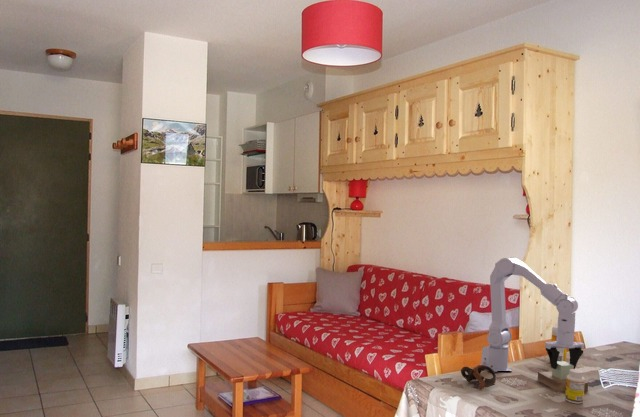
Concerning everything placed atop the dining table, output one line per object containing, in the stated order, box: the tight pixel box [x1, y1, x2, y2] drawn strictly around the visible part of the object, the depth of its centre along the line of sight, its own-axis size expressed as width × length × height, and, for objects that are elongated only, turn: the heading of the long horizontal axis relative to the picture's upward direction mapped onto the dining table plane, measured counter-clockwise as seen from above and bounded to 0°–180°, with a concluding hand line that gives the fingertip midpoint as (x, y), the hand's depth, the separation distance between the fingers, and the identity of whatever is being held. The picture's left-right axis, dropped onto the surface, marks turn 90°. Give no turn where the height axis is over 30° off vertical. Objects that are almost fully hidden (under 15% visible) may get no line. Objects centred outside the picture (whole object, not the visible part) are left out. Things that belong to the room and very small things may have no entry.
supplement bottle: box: [564, 368, 586, 405], centre depth 185 cm, size 6×6×10 cm
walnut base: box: [537, 371, 589, 392], centre depth 201 cm, size 12×12×3 cm
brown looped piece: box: [460, 364, 497, 391], centre depth 195 cm, size 12×10×8 cm
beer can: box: [550, 325, 568, 362], centre depth 230 cm, size 6×6×15 cm
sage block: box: [551, 361, 574, 380], centre depth 201 cm, size 5×5×5 cm
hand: (563, 368), depth 200 cm, fingers open, 7 cm apart
